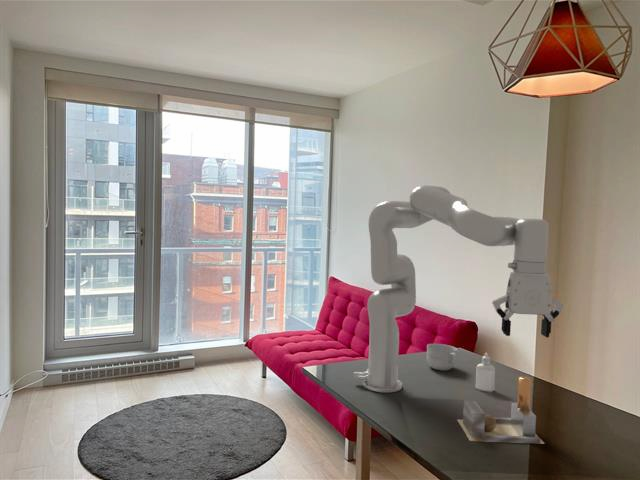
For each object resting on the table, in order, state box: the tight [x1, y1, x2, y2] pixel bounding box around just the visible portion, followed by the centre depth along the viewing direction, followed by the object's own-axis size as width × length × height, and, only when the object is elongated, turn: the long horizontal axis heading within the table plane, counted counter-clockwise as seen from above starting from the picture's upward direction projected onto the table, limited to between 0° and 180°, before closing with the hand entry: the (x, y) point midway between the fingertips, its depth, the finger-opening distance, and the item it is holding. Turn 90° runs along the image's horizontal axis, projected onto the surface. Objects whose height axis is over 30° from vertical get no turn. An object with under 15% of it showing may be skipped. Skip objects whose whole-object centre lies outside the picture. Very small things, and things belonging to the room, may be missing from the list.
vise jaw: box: [510, 375, 537, 437], centre depth 122 cm, size 3×8×14 cm, turn 179°
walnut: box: [484, 413, 496, 431], centre depth 123 cm, size 4×4×4 cm
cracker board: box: [456, 400, 545, 445], centre depth 122 cm, size 18×12×8 cm, turn 89°
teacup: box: [426, 343, 459, 371], centre depth 174 cm, size 14×11×8 cm
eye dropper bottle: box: [475, 352, 496, 393], centre depth 155 cm, size 4×6×12 cm
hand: (525, 335), depth 122 cm, fingers open, 9 cm apart
